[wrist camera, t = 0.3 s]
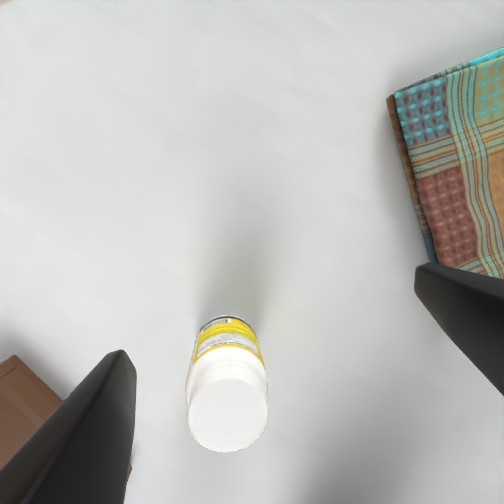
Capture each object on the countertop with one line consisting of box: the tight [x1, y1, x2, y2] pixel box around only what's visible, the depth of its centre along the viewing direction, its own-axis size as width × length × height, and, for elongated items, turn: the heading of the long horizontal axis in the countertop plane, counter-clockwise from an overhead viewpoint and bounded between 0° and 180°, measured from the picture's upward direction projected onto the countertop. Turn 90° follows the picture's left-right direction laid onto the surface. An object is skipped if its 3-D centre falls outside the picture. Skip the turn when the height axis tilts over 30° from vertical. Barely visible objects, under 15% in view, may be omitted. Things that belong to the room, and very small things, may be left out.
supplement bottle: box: [186, 315, 268, 453], centre depth 18 cm, size 5×5×8 cm
